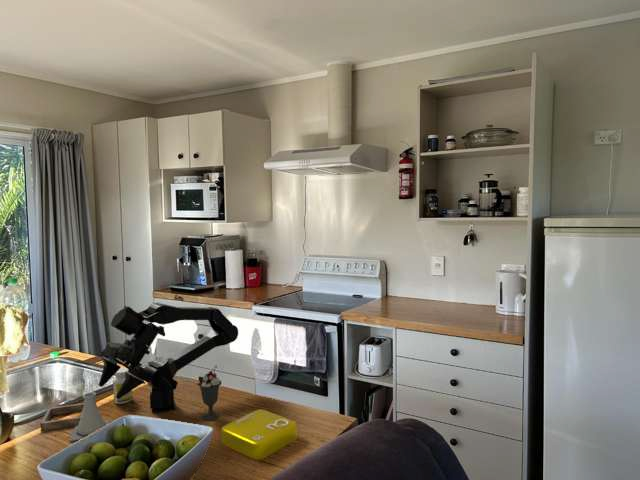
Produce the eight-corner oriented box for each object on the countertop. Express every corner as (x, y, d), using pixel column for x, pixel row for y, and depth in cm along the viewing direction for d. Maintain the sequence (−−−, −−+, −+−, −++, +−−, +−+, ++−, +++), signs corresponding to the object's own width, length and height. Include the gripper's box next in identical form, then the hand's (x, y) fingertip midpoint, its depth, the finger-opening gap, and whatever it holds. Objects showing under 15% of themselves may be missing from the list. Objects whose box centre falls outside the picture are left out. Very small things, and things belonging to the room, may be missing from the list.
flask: (89, 422, 135) (87, 388, 134) (111, 424, 133) (109, 390, 133) (70, 435, 128) (68, 398, 127) (94, 437, 126) (91, 400, 126)
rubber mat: (110, 421, 136) (110, 420, 136) (107, 436, 128) (107, 434, 128) (75, 427, 133) (75, 425, 133) (69, 442, 125) (69, 440, 125)
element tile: (260, 422, 135) (260, 406, 134) (300, 438, 125) (299, 420, 125) (218, 444, 123) (217, 426, 123) (258, 463, 114) (258, 443, 113)
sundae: (227, 416, 138) (225, 366, 137) (207, 424, 133) (205, 372, 132) (214, 409, 143) (212, 361, 141) (194, 417, 138) (192, 367, 136)
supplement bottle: (136, 399, 152) (134, 369, 151) (121, 405, 147) (119, 374, 146) (125, 395, 154) (123, 366, 154) (110, 402, 150) (108, 371, 149)
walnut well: (88, 408, 145) (88, 402, 145) (83, 424, 135) (82, 417, 135) (49, 414, 142) (48, 408, 142) (40, 430, 132) (40, 423, 131)
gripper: (103, 321, 139) (69, 371, 134) (139, 341, 128) (104, 395, 122) (130, 336, 147) (99, 383, 142) (166, 356, 136) (134, 408, 131)
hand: (108, 392), depth 134 cm, fingers open, 9 cm apart
